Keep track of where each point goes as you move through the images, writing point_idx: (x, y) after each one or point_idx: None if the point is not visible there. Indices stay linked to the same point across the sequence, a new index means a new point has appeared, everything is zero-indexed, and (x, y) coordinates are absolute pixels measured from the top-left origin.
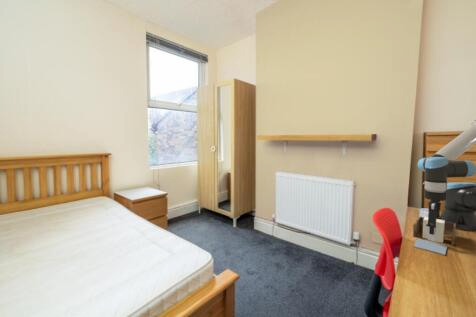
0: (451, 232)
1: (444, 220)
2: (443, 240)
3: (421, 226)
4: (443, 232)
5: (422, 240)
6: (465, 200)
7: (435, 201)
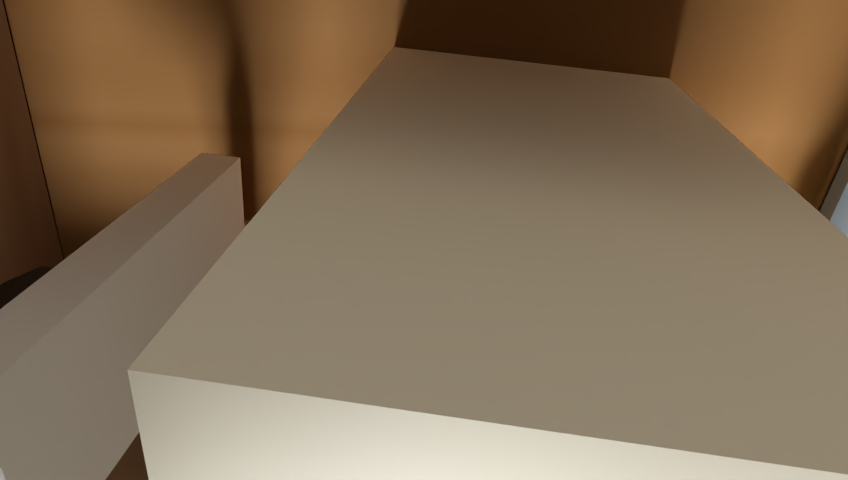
0: None
1: (179, 395)
2: (536, 65)
3: None
4: (728, 168)
5: None
6: None
7: None
